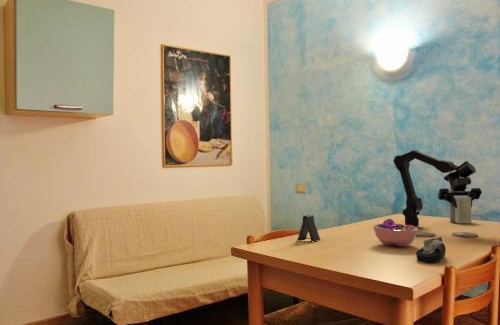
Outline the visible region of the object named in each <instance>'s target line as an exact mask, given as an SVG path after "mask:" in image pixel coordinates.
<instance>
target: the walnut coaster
mask: <svg viewBox="0 0 500 325" xmlns="http://www.w3.org/2000/svg"><path fill="white" fill-rule="evenodd" d="M452 236H453V237H457V238H467V239H468V238H477V237H479V235H478V233H474V232H467V231H465V232H464V231H456V232H452Z"/></svg>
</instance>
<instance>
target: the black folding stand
mask: <svg viewBox="0 0 500 325" xmlns="http://www.w3.org/2000/svg"><path fill="white" fill-rule="evenodd" d="M314 220H315V216H314V215H313V214H311V213H310V214H306V215H303V216H302V224H301V227H300V230H299V232H298V236H297V241H298V240H305V239H311V241H316V242H318V241H317V240H319V241H321V237H320V235H319V232H318V228H317V227H316V223H315V221H314ZM308 234H309V237H308Z"/></svg>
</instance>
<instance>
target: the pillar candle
mask: <svg viewBox="0 0 500 325" xmlns="http://www.w3.org/2000/svg"><path fill="white" fill-rule="evenodd" d="M454 199H455V197H454ZM449 223H451V224H458V223H457V222H455V207H454V206H453V205H452V204H451V203H449ZM459 224H462V225H463V224H466V223H459Z"/></svg>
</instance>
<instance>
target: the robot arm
mask: <svg viewBox="0 0 500 325" xmlns="http://www.w3.org/2000/svg"><path fill="white" fill-rule="evenodd" d="M415 159H416V160H418V161H420V162H422V163H425V164H428V165H430V166H431V167H434V168H435V169H436V170H437V171H439V172H440V173H443V174H446V175H445V176H444V177H443V180H444V181H446V182H448V183H449V185H450V187H449V188H439V189H438V193H437V198H438V200H439V201H440V200H442V201H445V202H447V203H449V204H450V203H451V204H452V205H453V206H454V207H455V208H457V204H456V201H455V199H454V198H455V197H470V198H471V209H472V207H473V201H475V200H479V199H480V197H481V195H482V192H483V191H482V189H481V188H480V187H471V189H470V191H468V190H467V188H468V187H467V186H468V185H471V184H472V179H471V175H474V174H476V173H477V171H476V168H475V166H474V165H472V164H471V163H470V162H469V161H467V160H466V161H464V162H463V163H461V164H460V165H455V164H454V162H453V161H450V160H444V159H438V158H436V157H434V156H430V155H428V154H426V153H423V152H422V151H421V152H420V151H419V150H410V151H408V152H406V153H404V154H401V155H399V154H397V155H396V156H395V157H394V158H393V163H394V166H395V168H396V169H397V170H398V172H399V174H400V178H401V181H402V183H403V184H402V185H403V188H404V191H405V195H406V201H405V205H406V208H405V209H403V210H402V215H403V216H404V225H412V226H415V227H417V228H418V227H419V226H420V218H419V216H418V215H420V212H421V211H422V210H423V206H424V204H423V200H422V198H421V197H418V196H417V194H416V191H415V187H414V184H413V180H412V176H411V173H410V166H411V164H410V162H412V161H414V160H415ZM447 173H448V174H447ZM466 190H467V191H466Z"/></svg>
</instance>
